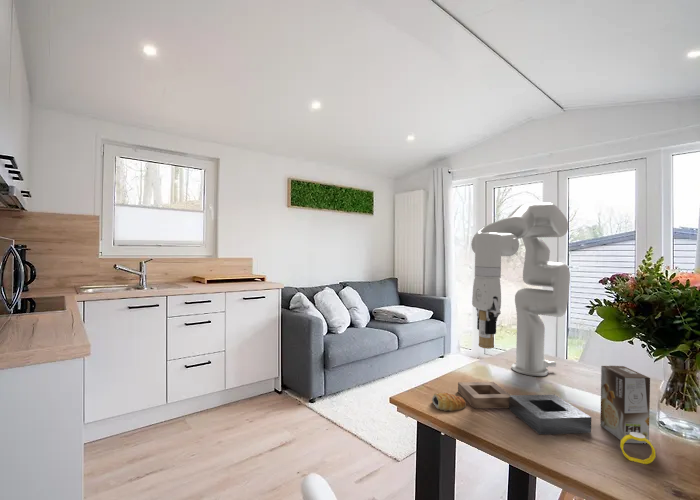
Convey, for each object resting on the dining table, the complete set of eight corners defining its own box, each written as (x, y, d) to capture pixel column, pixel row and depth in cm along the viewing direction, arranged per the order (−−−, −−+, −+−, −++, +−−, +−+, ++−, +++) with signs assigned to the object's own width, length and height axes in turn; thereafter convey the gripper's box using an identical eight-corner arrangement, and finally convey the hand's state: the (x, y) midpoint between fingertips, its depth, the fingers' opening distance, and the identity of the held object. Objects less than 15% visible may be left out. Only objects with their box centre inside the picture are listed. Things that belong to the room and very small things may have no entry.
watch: (622, 462, 79) (621, 434, 79) (620, 455, 81) (618, 429, 82) (657, 468, 76) (655, 440, 76) (653, 461, 79) (651, 434, 79)
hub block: (554, 408, 105) (554, 394, 105) (591, 432, 91) (591, 417, 91) (509, 409, 103) (509, 395, 103) (539, 434, 89) (539, 418, 89)
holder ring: (493, 390, 116) (493, 381, 116) (513, 407, 104) (514, 397, 104) (457, 391, 115) (458, 382, 115) (474, 408, 103) (474, 398, 103)
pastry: (459, 401, 109) (459, 389, 109) (470, 411, 102) (470, 398, 102) (430, 402, 107) (430, 390, 107) (439, 413, 101) (439, 399, 100)
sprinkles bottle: (497, 347, 109) (497, 304, 109) (487, 349, 107) (488, 305, 107) (484, 344, 113) (485, 301, 113) (475, 346, 111) (475, 303, 110)
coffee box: (650, 444, 86) (652, 378, 86) (623, 443, 86) (625, 377, 86) (622, 425, 95) (624, 365, 95) (598, 424, 95) (599, 364, 95)
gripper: (464, 270, 118) (463, 325, 118) (489, 275, 101) (488, 339, 101) (486, 270, 118) (485, 325, 119) (514, 275, 102) (513, 338, 102)
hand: (486, 331), depth 110 cm, fingers closed on sprinkles bottle, 4 cm apart
